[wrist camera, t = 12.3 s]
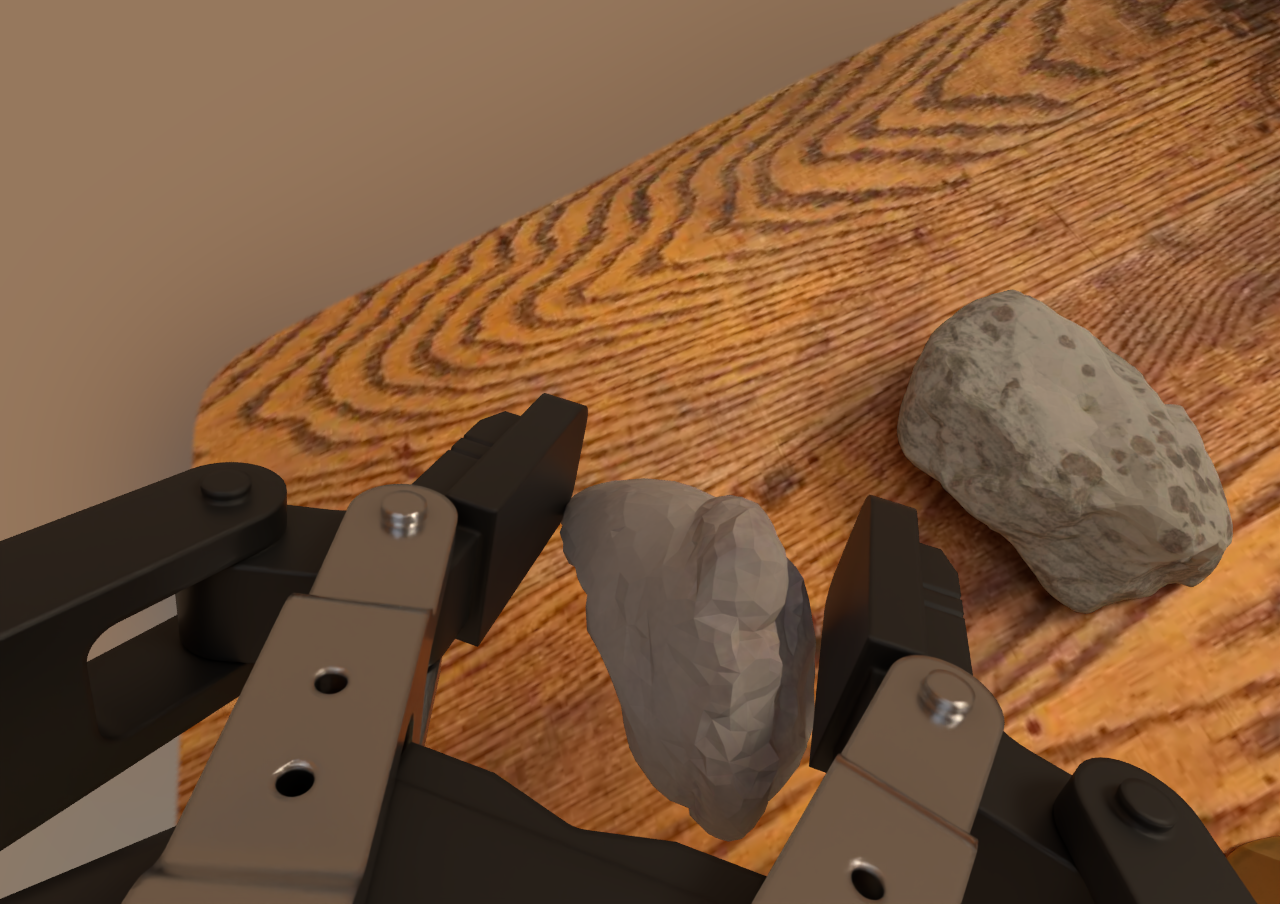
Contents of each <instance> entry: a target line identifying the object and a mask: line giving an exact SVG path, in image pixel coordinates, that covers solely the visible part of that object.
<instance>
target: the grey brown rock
mask: <svg viewBox="0 0 1280 904" xmlns="http://www.w3.org/2000/svg"><path fill="white" fill-rule="evenodd" d="M563 514H564V517H563V519H562V521H561V524H562V525H563V526H562V528H561V531H560V535H561V538H562V541H563V552H564V554H565V556H566V558H567V560H568V562H569V564H571V565H573V566H575V568H576V573H577V577H578V580H579V582H580V584H581V586H582V588H583V590H584V591H585V592H586V594H587V602H586V620H587V631H588V633H589V634H590V636H591V638H592V640H593V642H594V643H595V645H596V647H597V649H598V650H599V652H600V654H601V657H602V659H603V661H604V663H605V666H606V668H607V670H608V672H609V675H610V677H611V679H612V682H613V685H614V687H615V690H616V693H617V696H618V698H619V701H620V704H621V707H622V714H623V722H624V727H625V731H626V735H627V739H628V744H629V748H630V750H631V752H632V754H633V756H634V758H635V760H636V762H637V763H638V765H639V766H640V768H641V769H642V770H643V772H644V773H645V775H646V776H647V778H648V779H649V780H650V782H651V783H652V785H653V786H654V787H655V788H656V789H657V790H658V791H660V792H661V793H662V794H663V795H664V796H665V797H667V798H668V799H669V800H670V801H673V802H675V803H678V804H680V805H683V806H685V807H688V808H689V813H690V816H691V817H692V818H693V819H694V820H695V821H696V822H697V823H698V824H699V825H700V826H701V827H702V828H703V829H704V830H705V831H706V832H707V833H708V834H710V835H712V836H714V837H716V838H719V839H722V840H725V841H733V840H738V839H742V838H743V837H744V836H745V835H746V834H747V833H748V832H749V831H750V830H751V829H753V828H754V826H755V825H756V823H757V822H758V820H759V819H760V817H761V816H762V814H763V813H764V812H765V809H766V807H767V804H768V801H770V800H771V799H772V798H773V797H774V796H775V795H776V794H777V793H778V792H779V791H780V790H781V788H782V787H783V786H784V785H785V783H786V782H787V781H788V780H789V778H790V777H791V776H792V774H793V773H794V772H795V770H796V769H797V768H798V767H799V765H800V760H801V758H802V756H803V754H804V752H805V750H806V748H807V742H808V740H809V738H810V735H811V732H812V729H813V721H814V710H815V707H814V679H815V663H814V658H815V648H816V639H815V633H814V627H813V621H812V615H811V609H810V603H809V598H808V594H807V591H806V587H805V584H804V579H803V577H802V576H801V574H800V573H799V571H798V570H797V568H796V567H795V566H794V565H793V563H792V562H791V561H790V560H789V559H788V558H787V557H786V553H785V549H784V547H783V545H782V544H781V542H780V540H779V538H778V537H777V535H776V532H775V528H774V526H773V524H772V522H771V521H770V519H769V517H768V516H767V514H766V513H765V512H764V510H763V509H762V508H761V507H760V506H759V505H758V504H757V503H755V502H752V501H750V500H748V499H745V498H743V497H737V496H732V495H727V496H721V497H714V496H712V495H710V494H708V493H706V492H703V491H701V490H699V489H697V488H695V487H692V486H689V485H685V484H682V483H679V482H675V481H666V480H655V479H645V478H644V479H632V480H621V481H611V482H606V483H601V484H598V485H594V486H591V487H588V488H586V489H584V490H583V491H581V492H579V493H577V494H576V495H574V496H573V497H572V498H571V500H570V502H569V503H568V504H567V505H566V507H565V510H564V513H563Z"/></svg>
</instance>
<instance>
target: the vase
mask: <svg viewBox="0 0 1280 904" xmlns="http://www.w3.org/2000/svg"><path fill="white" fill-rule="evenodd" d="M1226 858H1227V860H1228V861H1229V863H1230V864H1231V866H1232V867H1233V869H1234V870H1235V872H1236V873H1237V875H1238V876H1239V878H1240V879H1241V881H1242V882H1243V883H1244V885H1245V886H1246V888H1247V889H1248V891H1249V892H1250V894H1251V895H1252V897H1253V898H1254V900H1255V901H1256V903H1257V904H1280V836H1276V837H1269V838H1264V839H1260V840H1256V841H1252V842H1249V843H1246V844H1244V845H1242V846H1240V847H1238V848H1237V849H1236V850H1234V851H1233V852H1232V853H1231V854H1229V855H1228V856H1227V857H1226Z"/></svg>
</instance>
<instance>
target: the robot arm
mask: <svg viewBox="0 0 1280 904" xmlns="http://www.w3.org/2000/svg"><path fill="white" fill-rule="evenodd" d="M587 417H588V408H587V406H585V405H582V404H578V403H575V402H572V401H569V400H565V399H562V398H559V397H556V396H553V395H549V394H546V393H544V394H542V395H541V396H540V397H539V398H538V399H537V400H536V401H535V402H534V403H533V404H532V405H531V406H530V407H529V408H528V409H527V410H526V411H525V412H524V413H523V414H522V415H521V416H519V415H515V414H512V413H509V412H506V411H505V412H502V413H499V414H496V415H493V416H491V417H488V418H485V419H482V420H480V421H479V422H478V423H477V424H475V425H474V426H473V427H472V428H471V429H470V430H469V431H468V432H467V433H466V434H465V435H464V438H461V439H460V440H458V441H457V442H456V443H455V444H454V445H453V446H452V448H451V450H448V451H447V452H446V453H445V454H444V455H442V456H441V457H440V458H439V459H438V460H437V461H436V462H435V463H434V464H433V465H432V466H431V467H430V468H429V469H428V470H427V471H425V472H424V473H423V474H422V475H421V476H420V477H419V478H418V479H417V480H416V481H415V482H414V483H413V484H412V485H409V484H391V485H384V486H379V487H375V488H372V489H369V490H367V491H365V492H363V493H361V494H360V495H358V496H357V497H356V498H355V499H354V500H353V501H352V502H351V503H350V505H349V507H348V509H347V511H340V510H328V509H319V508H310V507H301V506H293V505H287V489H286V485H285V483H284V481H283V479H282V478H281V477H280V476H279V475H277V474H276V473H275V472H273V471H271V470H269V469H267V468H264V467H261V466H258V465H253V464H248V463H238V462H225V463H214V464H208V465H203V466H199V467H196V468H193V469H190V470H187V471H185V472H182V473H180V474H177V475H174V476H172V477H169V478H166V479H164V480H161V481H158V482H156V483H153V484H151V485H148V486H145V487H143V488H140V489H137V490H135V491H132V492H129V493H127V494H124V495H122V496H119V497H116V498H113V499H111V500H108V501H106V502H103V503H100V504H98V505H95V506H93V507H90V508H87V509H84V510H82V511H79V512H76V513H74V514H71V515H68V516H66V517H63V518H61V519H58V520H55V521H53V522H50V523H47V524H45V525H42V526H39V527H37V528H34V529H32V530H29V531H26V532H24V533H21V534H18V535H16V536H13V537H10V538H8V539H5V540H3V541H0V851H1V850H3V849H4V848H6V847H7V846H9V845H11V844H12V843H13V842H15V841H16V840H18V839H20V838H21V837H23V836H24V835H26V834H27V833H29V832H30V831H32V830H34V829H35V828H37V827H38V826H40V825H41V824H43V823H44V822H46V821H47V820H49V819H51V818H52V817H54V816H55V815H57V814H58V813H60V812H61V811H63V810H64V809H66V808H68V807H69V806H70V805H72V804H74V803H75V802H77V801H78V800H80V799H81V798H83V797H84V796H86V795H88V794H89V793H90V792H92V791H94V790H95V789H97V788H98V787H100V786H101V785H103V784H104V783H106V782H108V781H109V780H110V779H112V778H114V777H115V776H117V775H118V774H120V773H121V772H123V771H125V770H126V769H128V768H129V767H131V766H132V765H134V764H135V763H137V762H138V761H140V760H142V759H143V758H145V757H146V756H148V755H149V754H151V753H152V752H154V751H155V750H157V749H158V748H160V747H162V746H163V745H165V744H166V743H168V742H169V741H171V740H172V739H174V738H175V737H177V736H178V735H180V734H182V733H183V732H185V731H186V730H188V729H189V728H191V727H192V726H194V725H195V724H197V723H199V722H200V721H202V720H203V719H205V718H206V717H208V716H209V715H211V714H212V713H214V712H215V711H217V710H219V709H220V708H222V707H223V706H225V705H226V704H228V703H229V702H231V701H232V700H234V699H236V698H237V697H239V698H238V700H237V702H236V704H235V706H234V708H233V710H232V712H231V714H230V717H229V719H228V721H227V723H226V725H225V727H224V729H223V731H222V733H221V735H220V737H219V739H218V741H217V743H216V745H215V747H214V749H213V752H212V754H211V756H210V758H209V760H208V762H207V764H206V766H205V768H204V770H203V772H202V774H201V776H200V778H199V780H198V782H197V785H196V787H195V789H194V791H193V793H192V795H191V797H190V799H189V801H188V803H187V805H186V807H185V809H184V811H183V813H182V815H181V817H180V820H179V822H178V824H177V826H175V827H172V828H170V829H168V830H165V831H163V832H160V833H158V834H156V835H153V836H151V837H148V838H146V839H143V840H141V841H139V842H136V843H134V844H132V845H129V846H127V847H124V848H122V849H119V850H117V851H115V852H112V853H110V854H107V855H105V856H103V857H100V858H98V859H95V860H93V861H91V862H89V863H86V864H84V865H81V866H79V867H76V868H74V869H71V870H69V871H67V872H64V873H62V874H59V875H57V876H55V877H52V878H50V879H48V880H45V881H43V882H40V883H38V884H36V885H33V886H31V887H28V888H26V889H23V890H21V891H19V892H16V893H14V894H11V895H9V896H7V897H4V898H2V899H0V904H1257V903H1256V901H1255V900H1254V898H1253V897H1252V895H1251V894H1250V892H1249V891H1248V889H1247V888H1246V886H1245V885H1244V883H1243V882H1242V881H1241V879H1240V878H1239V876H1238V875H1237V873H1236V872H1235V870H1234V869H1233V867H1232V866H1231V864H1230V863H1229V861H1228V860H1227V858H1226V857H1225V855H1224V854H1223V853H1222V851H1221V850H1220V848H1219V847H1218V845H1217V844H1216V842H1215V841H1214V839H1213V838H1212V836H1211V835H1210V833H1209V832H1208V830H1207V829H1206V828H1205V826H1204V825H1203V823H1202V822H1201V820H1200V819H1199V817H1198V816H1197V815H1196V813H1195V812H1194V811H1193V810H1192V808H1191V807H1190V806H1189V805H1188V804H1187V803H1186V802H1185V801H1184V800H1183V799H1182V798H1181V797H1180V796H1179V795H1178V794H1177V793H1176V792H1175V791H1173V790H1172V789H1171V788H1170V787H1168V786H1167V785H1166V784H1164V783H1163V782H1162V781H1160V780H1159V779H1157V778H1156V777H1154V776H1153V775H1151V774H1149V773H1147V772H1146V771H1144V770H1142V769H1140V768H1138V767H1136V766H1133V765H1131V764H1129V763H1126V762H1123V761H1120V760H1115V759H1111V758H1100V757H1099V758H1091V759H1088V760H1086V761H1084V762H1083V763H1081V764H1080V765H1079V766H1078V768H1077V769H1076V771H1075V772H1074V773H1073V775H1070V774H1069V773H1067V772H1065V771H1064V770H1062V769H1060V768H1058V767H1057V766H1055V765H1053V764H1052V763H1050V762H1048V761H1046V760H1045V759H1043V758H1041V757H1040V756H1038V755H1036V754H1034V753H1033V752H1031V751H1029V750H1028V749H1026V748H1025V747H1023V746H1022V745H1020V744H1019V743H1017V742H1016V741H1015V740H1013V739H1012V738H1011V737H1009V736H1008V735H1007V734H1006V733H1005V732H1004V731H1003V730H1004V716H1003V713H1002V710H1001V707H1000V706H999V704H998V702H997V700H996V699H995V697H994V696H993V695H992V693H991V692H990V691H989V690H988V689H987V688H986V687H985V686H984V685H983V684H982V683H981V682H980V681H979V680H977V679H976V678H975V677H974V676H973V673H972V666H971V659H970V653H969V646H968V639H967V632H966V625H965V619H964V618H963V615H964V612H963V605H962V600H960V597H961V592H960V585H959V578H958V573H957V571H956V570H955V569H954V567H953V566H952V564H951V563H950V561H949V560H948V559H947V557H946V556H945V554H944V553H943V551H942V550H941V549H938V548H935V547H931V546H928V545H925V544H922V543H919V530H918V518H917V510H916V509H915V508H911V507H908V506H905V505H902V504H899V503H895V502H892V501H889V500H886V499H882V498H879V497H876V496H873V495H868V496H867V498H866V499H865V501H864V503H863V505H862V507H861V510H860V512H859V515H858V517H857V520H856V522H855V524H854V527H853V529H852V532H851V534H850V537H849V539H848V542H847V544H846V546H845V549H844V551H843V554H842V556H841V559H840V561H839V564H838V566H837V568H836V571H835V573H834V576H833V579H832V582H831V585H830V588H829V592H828V596H827V600H826V604H825V610H824V620H823V630H822V640H821V650H820V660H819V670H818V681H817V691H816V701H815V711H814V721H813V731H812V741H811V752H810V762H809V767H812V768H814V769H817V770H820V771H823V772H825V773H826V775H825V777H824V778H823V780H822V782H821V784H820V785H819V787H818V789H817V791H816V792H815V794H814V796H813V797H812V799H811V801H810V803H809V804H808V806H807V808H806V810H805V811H804V813H803V815H802V817H801V818H800V820H799V822H798V824H797V825H796V827H795V829H794V830H793V832H792V834H791V836H790V837H789V839H788V841H787V843H786V844H785V846H784V848H783V850H782V851H781V853H780V855H779V857H778V858H777V860H776V862H775V864H774V865H773V867H772V869H771V870H770V872H769V874H768V876H764V875H762V874H759V873H756V872H754V871H751V870H748V869H746V868H743V867H740V866H738V865H735V864H733V863H730V862H727V861H725V860H722V859H719V858H717V857H714V856H712V855H709V854H706V853H704V852H701V851H698V850H696V849H693V848H690V847H688V846H685V845H683V844H680V843H677V842H673V841H665V840H658V839H650V838H643V837H635V836H627V835H620V834H612V833H605V832H597V831H589V830H583V829H579V828H576V827H574V826H571V825H570V824H568V823H566V822H565V821H563V820H562V819H560V818H559V817H558V816H556V815H555V814H553V813H552V812H550V811H549V810H547V809H546V808H544V807H543V806H542V805H540V804H539V803H537V802H536V801H534V800H533V799H531V798H530V797H528V796H527V795H526V794H524V793H523V792H521V791H520V790H518V789H517V788H515V787H514V786H512V785H511V784H510V783H508V782H507V781H505V780H504V779H502V778H501V777H499V776H498V775H496V774H495V773H493V772H490V771H488V770H485V769H482V768H480V767H477V766H474V765H472V764H469V763H467V762H464V761H461V760H459V759H456V758H453V757H451V756H448V755H445V754H443V753H440V752H438V751H435V750H432V749H430V748H427V747H424V746H425V742H426V737H427V732H428V727H429V723H430V718H431V713H432V709H433V704H434V699H435V695H436V690H437V685H438V681H439V676H440V670H441V661H442V656H443V655H444V653H445V652H446V651H447V649H448V648H449V646H450V645H451V644H452V642H453V641H454V639H458V640H461V641H463V642H466V643H469V644H472V645H475V646H477V647H478V646H479V644H480V643H481V641H482V640H483V638H484V637H485V635H486V634H487V632H488V631H489V629H490V628H491V626H492V625H493V623H494V622H495V620H496V619H497V617H498V616H499V614H500V613H501V611H502V610H503V608H504V607H505V605H506V604H507V602H508V601H509V599H510V598H511V596H512V595H513V593H514V592H515V590H516V589H517V587H518V586H519V584H520V583H521V581H522V580H523V578H524V577H525V575H526V574H527V572H528V571H529V569H530V568H531V566H532V565H533V563H534V562H535V560H536V559H537V557H538V556H539V554H540V553H541V551H542V550H543V548H544V547H545V545H546V544H547V542H548V541H549V539H550V538H551V536H552V535H553V533H554V532H555V530H556V529H557V527H558V526H559V524H560V523H561V521H562V519H563V517H564V514H563V513H564V510H565V507H566V505H567V504H568V503H569V502H570V500H571V497H572V493H573V490H574V485H575V480H576V475H577V470H578V464H579V459H580V454H581V449H582V444H583V439H584V434H585V428H586V423H587ZM174 594H175V596H176V605H177V615H176V616H174V617H172V618H170V619H168V620H167V621H165V622H163V623H161V624H159V625H157V626H155V627H153V628H151V629H149V630H147V631H145V632H144V633H142V634H140V635H138V636H136V637H134V638H132V639H130V640H128V641H126V642H124V643H123V644H121V645H119V646H117V647H115V648H113V649H111V650H109V651H107V652H105V653H104V654H102V655H100V656H98V657H96V658H94V659H92V660H90V661H88V662H87V656H88V653H89V651H90V649H91V647H92V645H93V644H94V642H95V641H96V640H97V639H98V637H99V636H100V635H101V634H102V633H104V632H105V631H106V630H107V629H108V628H110V627H111V626H113V625H115V624H116V623H118V622H120V621H122V620H124V619H126V618H128V617H130V616H132V615H134V614H136V613H138V612H140V611H142V610H144V609H146V608H148V607H150V606H152V605H154V604H156V603H158V602H160V601H162V600H164V599H166V598H168V597H170V596H172V595H174Z"/></svg>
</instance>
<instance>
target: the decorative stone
mask: <svg viewBox="0 0 1280 904" xmlns="http://www.w3.org/2000/svg"><path fill="white" fill-rule="evenodd" d="M897 435H898V441H899V444H900V446H901V448H902V451H903V453H904V455H905V456H906V458H907V459H908V460H909V461H910V462H911V463H912V464H913V465H914V466H916V467H917V468H919V469H920V470H922V471H923V472H925V473H926V474H928V475H929V476H931V477H933V478H934V479H936V480H938V481H939V482H941V484H942V486H943V488H944V489H945V490H946V491H947V492H948V493H949V494H951V495H952V496H953V497H954V498H955V499H956V500H957V501H958V502H959V503H960V504H961V506H962V507H963V508H964V509H965V510H966V511H967V512H968V513H969V514H970V515H972V516H973V517H975V518H976V519H978V520H979V521H981V522H983V523H984V524H986V525H987V526H988V527H989V528H990V529H991V530H993V531H995V532H998V533H1000V534H1001V535H1002V536H1004V537H1005V538H1006V539H1007V540H1008V541H1009V542H1010V543H1011V544H1012V545H1013V546H1014V547H1015V548H1016V550H1017V552H1018V553H1019V554H1020V556H1021V557H1022V559H1023V560H1024V561H1025V562H1026V563H1027V565H1028V566H1029V567H1030V569H1031V570H1032V572H1033V573H1034V574H1035V575H1036V577H1037V579H1038V580H1039V582H1040V583H1041V585H1042V586H1043V587H1044V588H1045V589H1046V591H1047V592H1048V593H1049V594H1050V595H1052V596H1053V597H1054V598H1055V599H1057V600H1058V601H1059V602H1061V603H1062V604H1064V605H1065V606H1067V607H1069V608H1070V609H1072V610H1073V611H1075V612H1081V613H1091V612H1094V611H1095V610H1097V609H1099V608H1101V607H1102V606H1105V605H1109V604H1112V603H1115V602H1118V601H1121V600H1126V599H1137V598H1142V597H1148V596H1151V595H1153V594H1154V593H1155V592H1156V591H1157V590H1159V589H1160V588H1161V587H1164V586H1166V585H1167V584H1172V583H1178V584H1183V585H1186V586H1189V587H1194V586H1196V585H1197V584H1199V583H1201V582H1202V581H1203V580H1204V579H1205V578H1206V577H1207V576H1208V575H1210V574H1211V573H1212V571H1213V570H1214V569H1215V568H1216V566H1217V565H1218V563H1219V561H1220V560H1221V557H1222V555H1223V553H1224V551H1225V550H1226V548H1227V547H1228V546H1229V545H1230V544H1231V542H1232V535H1233V525H1232V520H1231V516H1230V512H1229V508H1228V505H1227V500H1226V497H1225V494H1224V491H1223V488H1222V485H1221V482H1220V480H1219V477H1218V474H1217V472H1216V470H1215V467H1214V465H1213V463H1212V461H1211V459H1210V457H1209V455H1208V454H1207V452H1206V451H1205V449H1204V444H1203V441H1202V439H1201V437H1200V434H1199V432H1198V430H1197V428H1196V426H1195V425H1194V423H1193V422H1192V421H1191V420H1190V418H1189V417H1188V415H1187V413H1186V412H1185V410H1184V408H1183V407H1182V406H1180V405H1172V404H1164V403H1163V402H1162V401H1161V399H1160V397H1159V396H1158V394H1157V393H1156V392H1155V391H1154V390H1153V389H1152V388H1151V387H1150V386H1149V385H1148V383H1147V382H1146V381H1145V379H1144V376H1143V375H1142V373H1140V372H1139V371H1138V370H1137V369H1136V368H1134V367H1133V366H1132V365H1130V364H1129V363H1127V362H1126V361H1125V360H1124V359H1123V358H1122V357H1120V356H1118V355H1117V354H1115V353H1113V352H1112V351H1110V350H1109V349H1108V348H1106V347H1105V346H1104V345H1103V344H1102V342H1101V341H1100V340H1099V339H1097V338H1096V337H1095V336H1093V335H1092V334H1091V333H1090V332H1089V331H1088V330H1087V329H1085V328H1083V327H1081V326H1079V325H1077V324H1076V323H1074V322H1072V321H1070V320H1068V319H1066V318H1064V317H1062V316H1060V315H1058V314H1057V313H1056V312H1055V311H1053V310H1052V309H1051V308H1049V307H1048V306H1047V305H1045V304H1044V303H1042V302H1040V301H1038V300H1037V299H1035V298H1033V297H1031V296H1028V295H1024V294H1022V293H1021V292H1019V291H1016V290H1008V291H1004V292H1000V293H996V294H992V295H989V296H987V297H984V298H981V299H977V300H975V301H973V302H971V303H970V304H968V305H966V306H964V307H963V308H962V309H960V310H959V311H958V312H956V313H955V314H954V315H953V316H952V317H951V318H949V319H948V320H946V321H945V322H944V323H943V324H942V325H940V326H939V327H938V328H937V329H936V330H935V331H934V332H933V333H932V334H931V336H930V338H929V340H928V341H927V343H926V345H925V347H924V350H923V352H922V354H921V355H920V357H919V359H918V360H917V362H916V364H915V366H914V369H913V372H912V375H911V378H910V381H909V384H908V387H907V390H906V393H905V395H904V398H903V401H902V404H901V408H900V413H899V418H898V425H897Z"/></svg>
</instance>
